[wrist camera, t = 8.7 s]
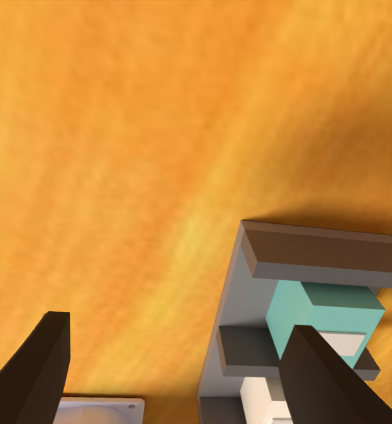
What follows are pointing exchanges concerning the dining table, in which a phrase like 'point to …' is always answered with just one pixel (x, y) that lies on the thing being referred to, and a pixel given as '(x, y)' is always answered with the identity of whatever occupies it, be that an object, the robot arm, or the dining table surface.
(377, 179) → the dining table surface
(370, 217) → the dining table surface
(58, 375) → the robot arm
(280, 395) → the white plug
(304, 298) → the teal box
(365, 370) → the gray shelf unit
